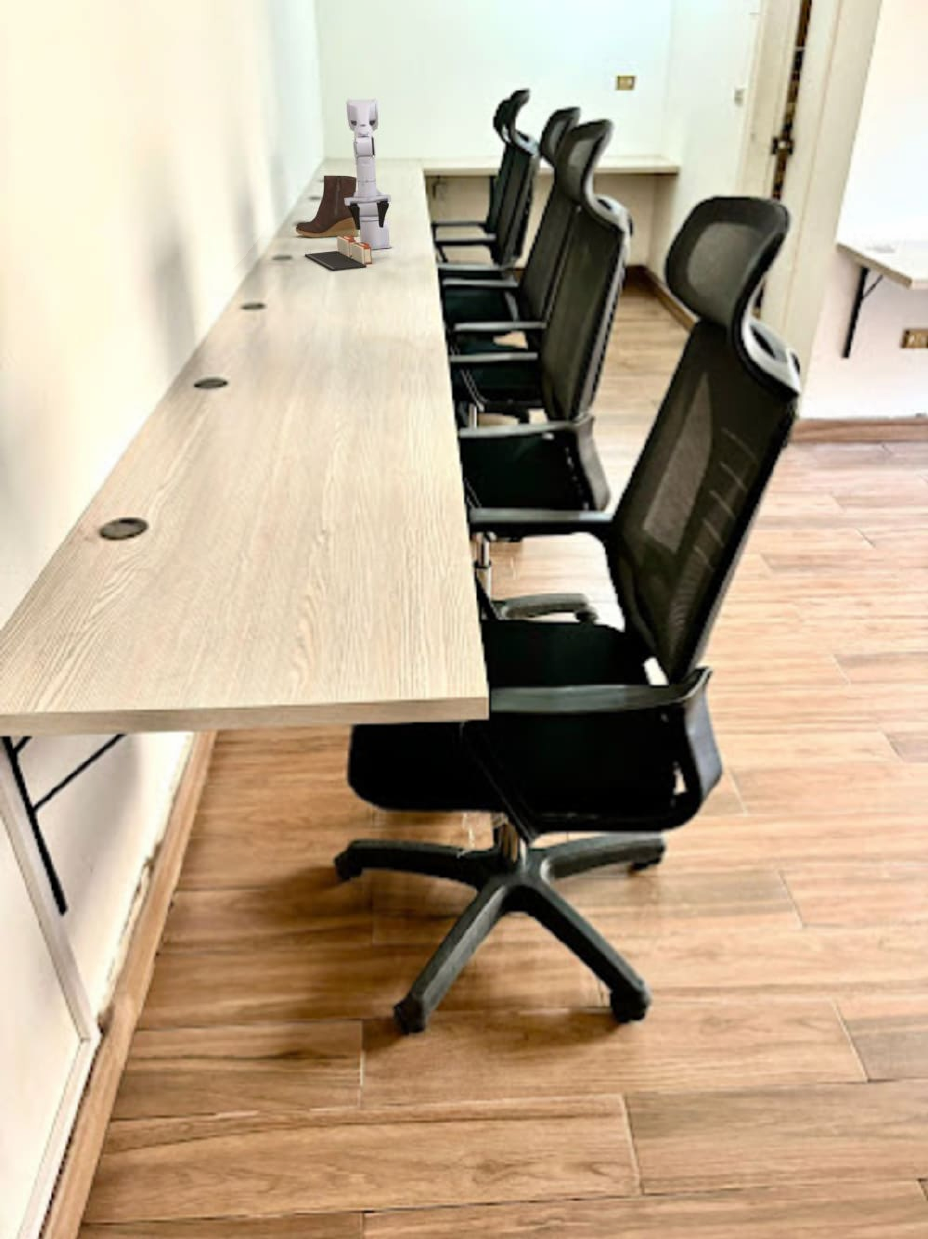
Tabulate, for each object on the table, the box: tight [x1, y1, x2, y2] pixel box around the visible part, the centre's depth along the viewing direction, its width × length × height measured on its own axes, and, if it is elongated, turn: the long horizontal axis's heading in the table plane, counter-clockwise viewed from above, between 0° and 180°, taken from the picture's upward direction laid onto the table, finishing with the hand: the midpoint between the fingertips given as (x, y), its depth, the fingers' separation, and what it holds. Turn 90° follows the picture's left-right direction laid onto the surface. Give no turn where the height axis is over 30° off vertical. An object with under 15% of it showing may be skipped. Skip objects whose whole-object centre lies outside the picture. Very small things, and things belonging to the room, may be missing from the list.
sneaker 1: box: [336, 236, 357, 258], centre depth 310 cm, size 4×10×5 cm, turn 25°
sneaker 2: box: [351, 241, 373, 265], centre depth 299 cm, size 4×10×5 cm, turn 25°
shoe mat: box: [304, 250, 367, 272], centre depth 301 cm, size 11×28×1 cm, turn 25°
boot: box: [295, 174, 360, 239], centre depth 337 cm, size 9×24×20 cm, turn 84°
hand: (369, 228), depth 298 cm, fingers open, 7 cm apart
